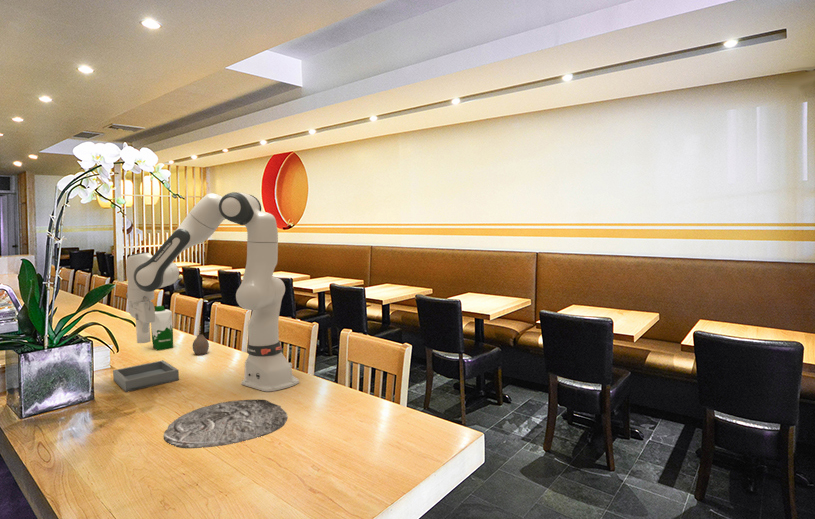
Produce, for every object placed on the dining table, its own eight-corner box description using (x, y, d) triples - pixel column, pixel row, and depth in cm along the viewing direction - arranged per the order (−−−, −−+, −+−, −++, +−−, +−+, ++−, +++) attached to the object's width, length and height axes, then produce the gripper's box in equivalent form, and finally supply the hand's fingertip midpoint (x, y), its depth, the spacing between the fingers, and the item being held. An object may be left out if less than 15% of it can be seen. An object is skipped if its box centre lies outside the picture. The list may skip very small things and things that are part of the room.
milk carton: (170, 344, 236) (167, 304, 234) (175, 347, 229) (173, 307, 227) (150, 347, 230) (148, 307, 228) (156, 351, 223) (153, 309, 222)
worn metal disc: (147, 424, 143) (146, 422, 143) (255, 393, 168) (255, 392, 168) (187, 463, 120) (187, 461, 120) (307, 421, 144) (307, 419, 144)
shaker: (152, 341, 181) (150, 313, 181) (138, 344, 178) (137, 315, 177) (148, 339, 185) (147, 311, 184) (135, 341, 182) (133, 313, 181)
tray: (178, 379, 182) (178, 369, 182) (126, 392, 170) (125, 381, 170) (163, 369, 195) (163, 360, 195) (113, 380, 183) (112, 370, 183)
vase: (205, 355, 215) (204, 336, 214) (190, 355, 215) (189, 336, 214) (211, 351, 222) (210, 333, 221) (197, 351, 222) (196, 333, 221)
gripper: (158, 297, 175) (160, 334, 176) (142, 291, 189) (144, 325, 191) (139, 299, 170) (142, 337, 172) (124, 293, 185) (126, 328, 186)
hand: (143, 331), depth 181 cm, fingers closed on shaker, 4 cm apart
